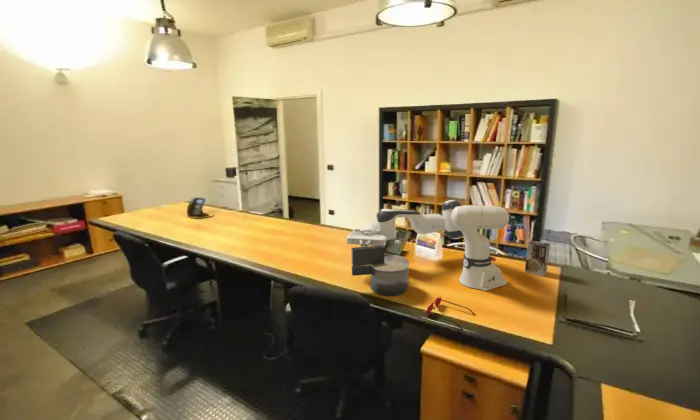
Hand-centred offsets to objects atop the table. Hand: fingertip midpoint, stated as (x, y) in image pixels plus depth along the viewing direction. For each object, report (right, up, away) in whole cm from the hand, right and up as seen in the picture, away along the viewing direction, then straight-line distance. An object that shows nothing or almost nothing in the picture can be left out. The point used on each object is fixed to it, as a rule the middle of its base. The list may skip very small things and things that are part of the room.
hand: (363, 245), depth 170 cm
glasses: (+35, -27, -28) cm, 52 cm away
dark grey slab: (+8, -9, -6) cm, 13 cm away
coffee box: (+91, -15, +10) cm, 92 cm away
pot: (+8, -20, -3) cm, 22 cm away
